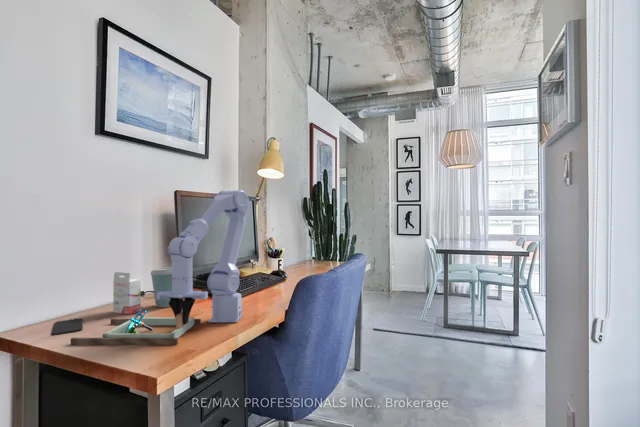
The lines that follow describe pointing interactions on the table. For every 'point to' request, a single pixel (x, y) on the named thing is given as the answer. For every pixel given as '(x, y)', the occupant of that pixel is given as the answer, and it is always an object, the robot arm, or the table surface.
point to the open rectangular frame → (177, 321)
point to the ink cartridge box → (126, 294)
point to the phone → (67, 326)
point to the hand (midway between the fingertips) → (182, 323)
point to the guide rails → (127, 340)
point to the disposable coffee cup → (162, 284)
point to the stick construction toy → (137, 323)
